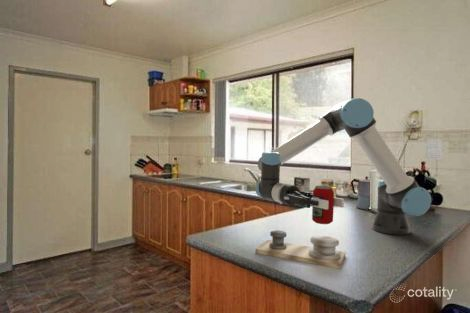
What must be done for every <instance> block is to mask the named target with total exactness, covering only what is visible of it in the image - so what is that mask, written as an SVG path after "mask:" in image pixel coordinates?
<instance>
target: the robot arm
mask: <svg viewBox="0 0 470 313" xmlns="http://www.w3.org/2000/svg"><path fill="white" fill-rule="evenodd" d="M374 114H375V113H374V108H373V106H372V105H371V103H370V102H369V101H367V99H364V98H360V97H355V98H354V97H353V98H349V99H347V100H345V101H342V102H340V103H338V104H337V103H336V105H334V106H333V107H332V108H331V109H329V110H328V111H327V112H326V113H324V114H323V115H321V116H320V117H319V119H318V121H316V122H315V123H313V124H311V125H310V126H309V127H307V128H305V129H304V130H302V131H301V132H299V133H298V134H296V135H294V136H293V137H292V138H289V139H288V140H286V141H285V142H283V143H282V144H281V145H279V146H277V147H276V148H273V150H272V151H270V152H269V151H263V152H262V154H261V157H259V158H258V161H257V166H258V170H259V171H261V172H260V176H261V177H260V180H259V181H258V182H257V184H256V186H255V188H254V189H255V190H254V191H255V194H256V195H257V196H258V198H260V199H263V200H267V201H272V202H276V203H279V204H280V205H282V204H284V205H287V206H295V205H299V206H301V207H304V206H306V208H307V209H310V208H311V207H312V206H313V207H318V208H322V209H326V210H327V209H328V203H329V201H327V200H322V199H317V198H313V191H309V192H304V191H299V189H298V187H297V186H295V185H294V184H288V183H282V182H280V181H281V180H280V170H281V166H282V165H283V164H285V163H286V162H289V161H290V160H291V159H293V158H294V157H296V156H297V155H299V154H301V153H302V152H304V151H305V150H307V149H308V148H310V147H312V146H313V145H315V144H316V143H318V142H319V141H321V140H322V139H325V138H326V137H328V136H333V135H335V134H337V133H338V132H341V131H344V130H345V132H346V133H347V135H348V138H350V139H355V140H356V142H357V143H358V144H359V146H360V147H361V149H362V151H363V152H364V153H365V155H366V157H367V158H368V159H369V161H370V163H371V164H372V166H373V167H374V168H375V171H376V172H377V173H378V175H379V176H380V178H381V180H379V181H378V182H377V205H376V206H377V210H376V211H377V212H376V215H375V217H374V219H373V221H372V229H373V231H376V232H378V233H382V234H388V235H398V236H402V235H409V234H410V231H411V229H410V225H409V221H408V219H407V215H408V216H412V217H418V216H422V215H424V214H425V213H427V211H429V209H430V207H431V204H432V195H431V194H430V191H428V190H427V189H426V188H424V187H422V186H420V185H419V184H418V182H417V181H416V179H415V178H414V177H413V176H409V175H407V174H406V172H405V170H404V169H403V167H402V166H401V164H400V163H399V161H398V159H397V158H396V156H395V155H394V154H393V152H392V150H391V149H390V148H389V146H388V145H387V143H386V141H385V140H384V139H383V137H382V136H381V134H380V133H379V131H378V130H377V128H376V125H377V120H376V119H375V117H374ZM344 205H345V199H344V198H340V197H336V198H335V197H334V207H339V208H344V207H345V206H344Z"/></svg>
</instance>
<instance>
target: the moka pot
mask: <svg viewBox="0 0 470 313" xmlns="http://www.w3.org/2000/svg"><path fill="white" fill-rule="evenodd" d="M370 180H371V179H369V176H365V178H362V179H357V178H353V179H352V180H351V181H350V185H351V186H350V187H351V189H352V193H353V194H354V195H358V197H357V201H356V206H355V207H356V208H358V209H360V210H366V211H367V210H368V209H369V207H370ZM354 182H355V183H357V187H358V191H356V190H355V186H354ZM368 211H369V210H368Z"/></svg>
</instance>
